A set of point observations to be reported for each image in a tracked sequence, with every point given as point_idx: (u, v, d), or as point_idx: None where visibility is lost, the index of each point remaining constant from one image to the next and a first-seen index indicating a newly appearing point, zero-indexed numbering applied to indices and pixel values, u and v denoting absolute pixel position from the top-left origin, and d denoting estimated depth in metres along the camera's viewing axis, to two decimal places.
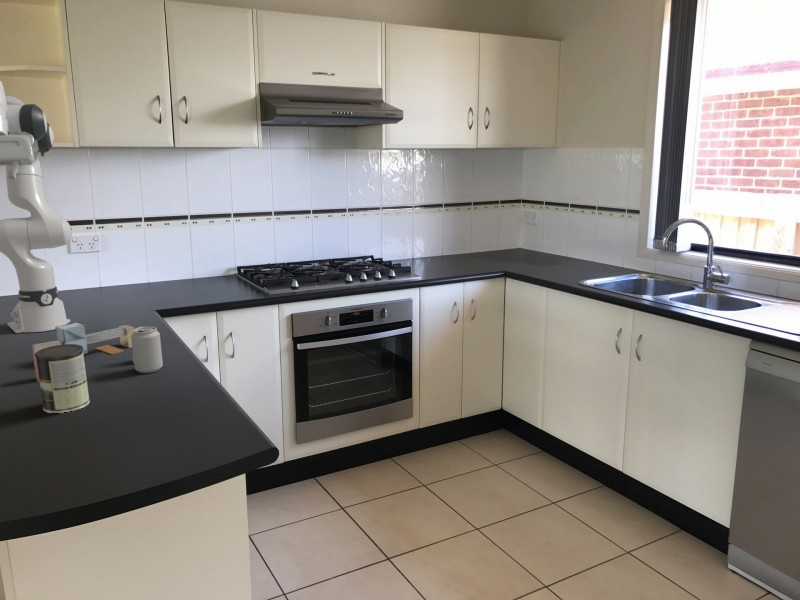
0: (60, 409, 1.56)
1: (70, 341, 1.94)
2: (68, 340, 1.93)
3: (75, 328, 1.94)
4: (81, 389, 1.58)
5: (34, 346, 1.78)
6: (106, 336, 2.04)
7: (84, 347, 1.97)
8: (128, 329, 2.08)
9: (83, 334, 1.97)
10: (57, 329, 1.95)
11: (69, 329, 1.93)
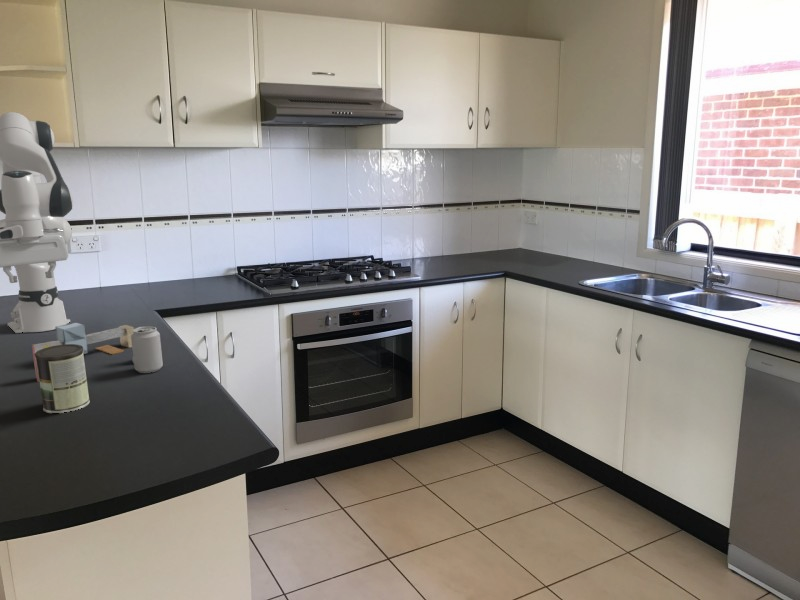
0: (60, 409, 1.56)
1: (70, 341, 1.94)
2: (68, 340, 1.93)
3: (75, 328, 1.94)
4: (81, 389, 1.58)
5: (34, 346, 1.78)
6: (106, 336, 2.04)
7: (84, 347, 1.97)
8: (128, 329, 2.08)
9: (83, 334, 1.97)
10: (57, 329, 1.95)
11: (69, 329, 1.93)
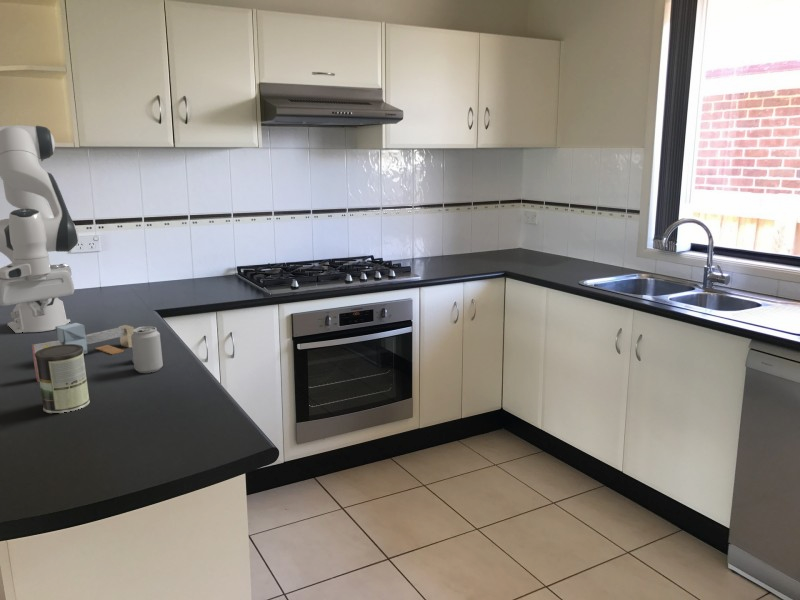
0: (60, 409, 1.56)
1: (70, 341, 1.94)
2: (68, 340, 1.93)
3: (75, 328, 1.94)
4: (81, 389, 1.58)
5: (34, 346, 1.78)
6: (106, 336, 2.04)
7: (84, 347, 1.97)
8: (128, 329, 2.08)
9: (83, 334, 1.97)
10: (57, 329, 1.95)
11: (69, 329, 1.93)
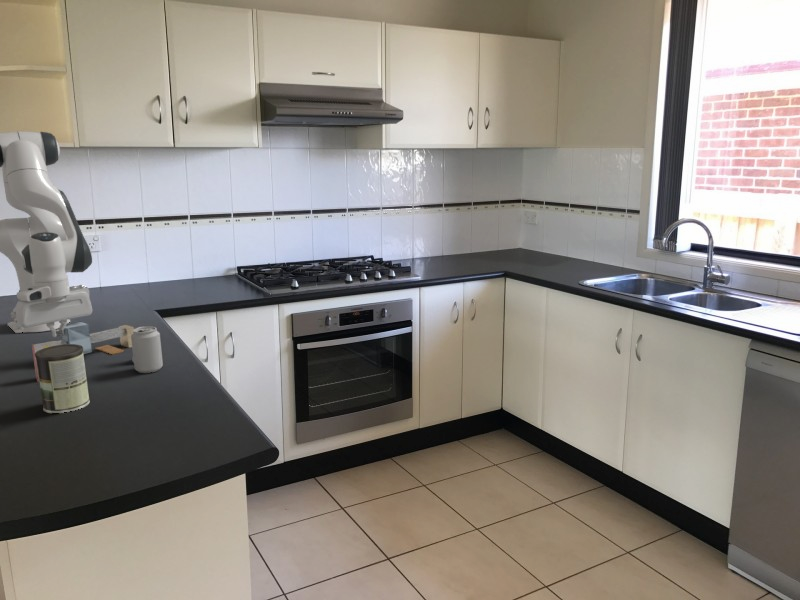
0: (60, 409, 1.56)
1: (74, 340, 1.95)
2: (72, 339, 1.94)
3: (79, 327, 1.95)
4: (81, 389, 1.58)
5: (34, 346, 1.78)
6: (106, 336, 2.04)
7: (88, 346, 1.98)
8: (128, 329, 2.08)
9: (87, 333, 1.97)
10: None
11: (73, 328, 1.94)
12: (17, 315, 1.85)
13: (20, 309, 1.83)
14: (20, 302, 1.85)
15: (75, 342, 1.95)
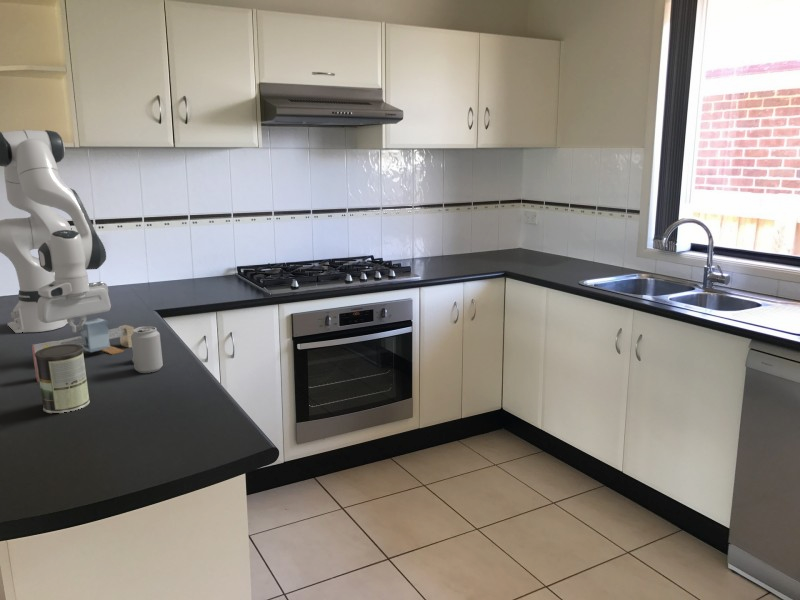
0: (60, 409, 1.56)
1: (93, 336, 1.99)
2: (91, 335, 1.98)
3: (98, 323, 1.99)
4: (81, 389, 1.58)
5: (34, 346, 1.78)
6: None
7: (107, 342, 2.02)
8: (128, 329, 2.08)
9: (106, 329, 2.01)
10: None
11: (92, 324, 1.98)
12: (39, 311, 1.89)
13: (42, 305, 1.88)
14: (41, 298, 1.89)
15: (94, 338, 1.99)
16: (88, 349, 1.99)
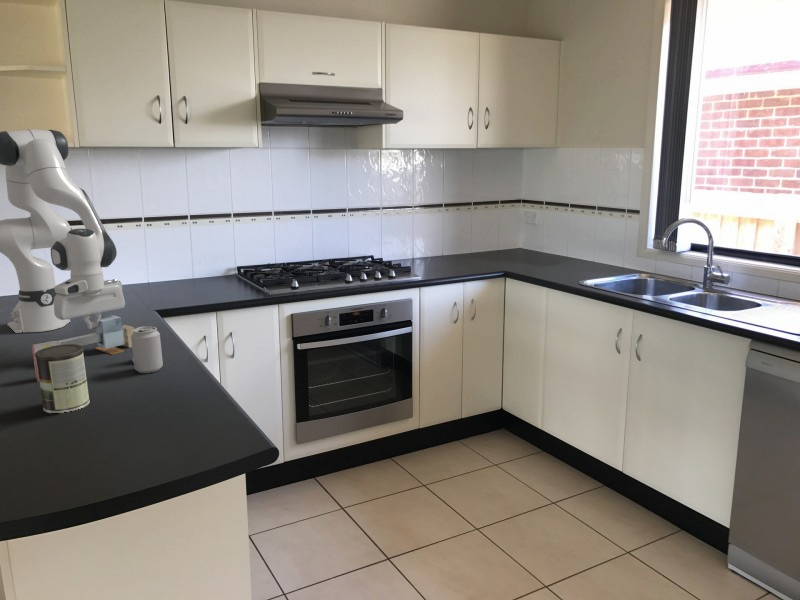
0: (60, 409, 1.56)
1: (108, 333, 2.02)
2: (106, 332, 2.02)
3: (113, 320, 2.03)
4: (81, 389, 1.58)
5: (34, 346, 1.78)
6: None
7: (121, 339, 2.06)
8: (128, 329, 2.08)
9: (120, 326, 2.05)
10: None
11: (107, 321, 2.02)
12: (55, 308, 1.92)
13: (59, 302, 1.91)
14: (58, 295, 1.93)
15: (109, 334, 2.02)
16: (103, 346, 2.03)
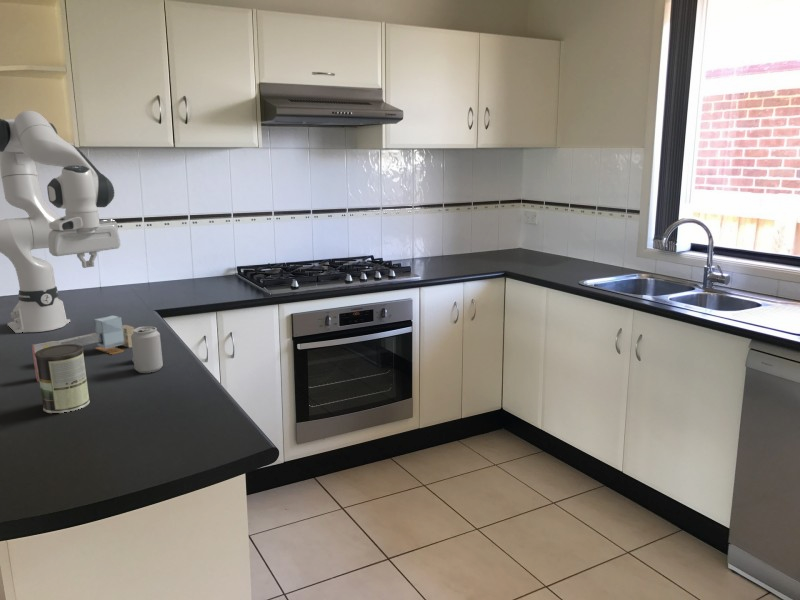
0: (60, 409, 1.56)
1: (108, 333, 2.02)
2: (106, 332, 2.02)
3: (113, 320, 2.03)
4: (81, 389, 1.58)
5: (34, 346, 1.78)
6: None
7: (121, 339, 2.06)
8: (128, 329, 2.08)
9: (120, 326, 2.05)
10: (95, 321, 2.03)
11: (107, 321, 2.02)
12: (50, 244, 1.92)
13: (53, 238, 1.90)
14: (53, 231, 1.92)
15: (109, 334, 2.02)
16: (103, 345, 2.03)
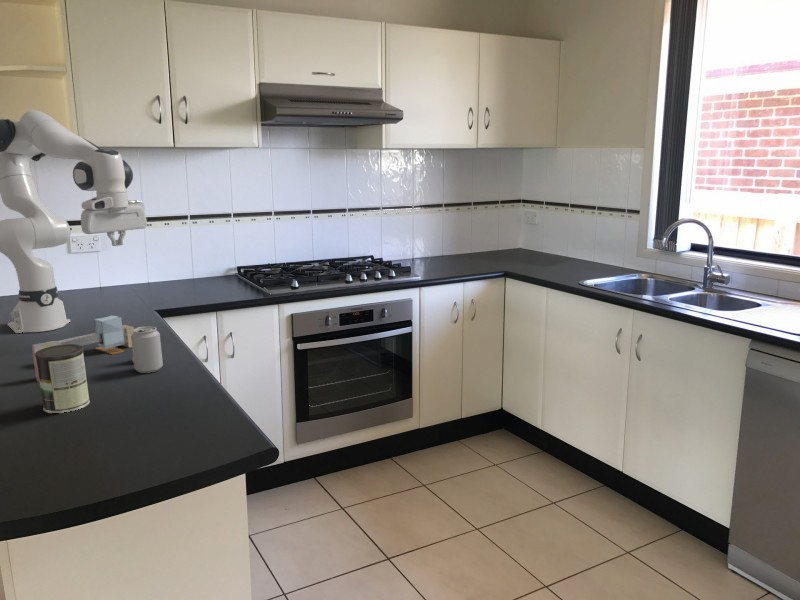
0: (60, 409, 1.56)
1: (108, 333, 2.02)
2: (106, 332, 2.02)
3: (113, 320, 2.03)
4: (81, 389, 1.58)
5: (34, 346, 1.78)
6: None
7: (121, 339, 2.06)
8: (128, 329, 2.08)
9: (120, 326, 2.05)
10: (95, 321, 2.03)
11: (107, 321, 2.02)
12: (83, 223, 2.02)
13: (86, 216, 2.01)
14: (85, 211, 2.03)
15: (109, 334, 2.02)
16: (103, 345, 2.03)
